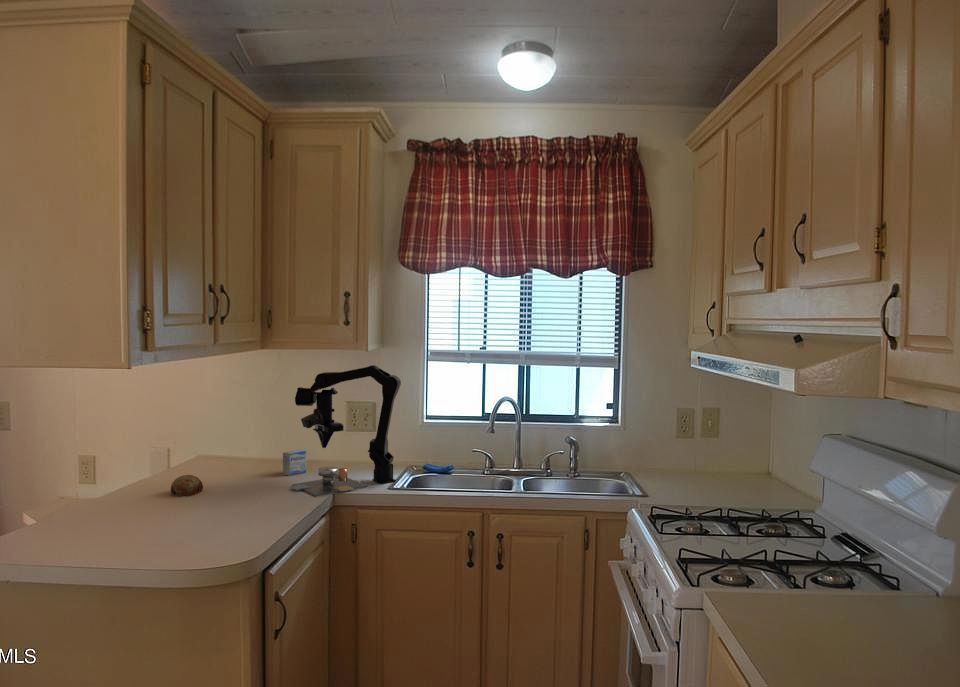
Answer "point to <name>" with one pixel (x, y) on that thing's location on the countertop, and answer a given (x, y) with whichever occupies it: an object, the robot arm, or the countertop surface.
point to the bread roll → (186, 486)
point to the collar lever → (333, 472)
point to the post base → (327, 486)
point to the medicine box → (294, 462)
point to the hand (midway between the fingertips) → (324, 447)
